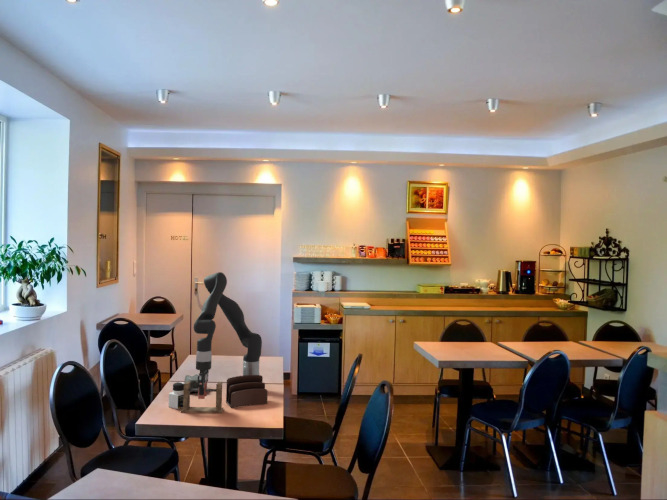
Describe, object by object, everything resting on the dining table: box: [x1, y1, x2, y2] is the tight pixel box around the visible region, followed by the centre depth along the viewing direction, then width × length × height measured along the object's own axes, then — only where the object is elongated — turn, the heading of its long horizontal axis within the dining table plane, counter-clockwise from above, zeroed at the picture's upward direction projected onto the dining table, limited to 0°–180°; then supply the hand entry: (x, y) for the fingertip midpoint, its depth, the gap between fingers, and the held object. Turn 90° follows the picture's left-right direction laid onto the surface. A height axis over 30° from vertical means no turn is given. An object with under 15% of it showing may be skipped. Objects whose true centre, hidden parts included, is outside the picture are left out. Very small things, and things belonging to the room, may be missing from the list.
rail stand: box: [180, 381, 225, 414], centre depth 256 cm, size 20×6×14 cm, turn 92°
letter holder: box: [225, 374, 269, 409], centre depth 271 cm, size 10×20×14 cm, turn 116°
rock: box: [183, 373, 199, 393], centre depth 293 cm, size 18×11×8 cm, turn 27°
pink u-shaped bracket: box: [197, 382, 208, 400], centre depth 256 cm, size 3×6×7 cm, turn 2°
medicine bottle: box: [168, 381, 184, 410], centre depth 262 cm, size 7×7×12 cm
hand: (202, 393), depth 256 cm, fingers closed on pink u-shaped bracket, 5 cm apart
